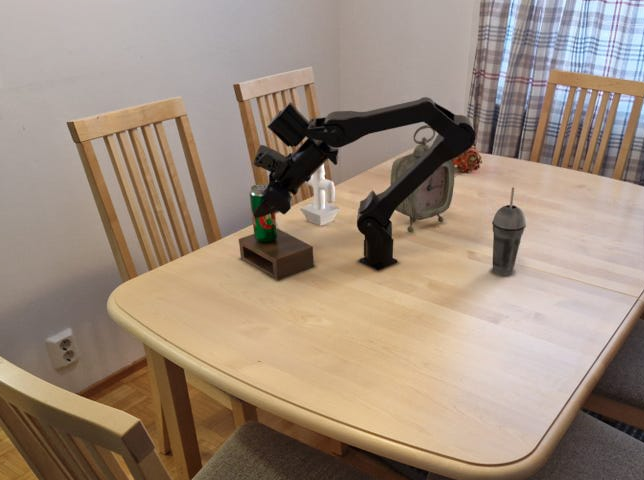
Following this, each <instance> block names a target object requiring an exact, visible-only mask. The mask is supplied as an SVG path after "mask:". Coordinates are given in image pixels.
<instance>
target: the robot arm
mask: <svg viewBox="0 0 644 480" xmlns="http://www.w3.org/2000/svg"><path fill="white" fill-rule="evenodd" d="M420 123H424V124H426V125H429V126H430V127H431V128H432V129H434V130H435V133H437V135H436V137H435V139H434V141H433V142H432V144H431V145H430V146H431V147H430V148H429V149H428V150H427V151H426V152H425V153H424V154H423V155H422V156H421V157H420V158H418V159H417V160H416V161H415V162H414V163H413V164H412V165H411V166H410V167H409V168H408V169H407V170H406V171H405V172H404V173H403V174H402V175H401V176H400V177H399V178H398V179H397V180H396V181H395V182H394V183H393V184H392V185H391V186H390V185H389V186H388V187H387V188H386V189H385V190H384V191H382V192H380V193H377V194H376V192H375V191H374V190H371V191H370V192H369V193H368V195H367V197H366V198H364V199H362V200H359V207H358V210H357V217H356V227H357V230H358V232H359V233H360V234H362V235H363V236H364V238H363V257H361V258H359V262H360V263H362V264H364V265H366V266H368V267H370V268H371V269H373V270H375V271H381V270H384V269H385V268H388V267H391V266H393V265H395V264H398V261H399V260H398V259H397V258H395V257H394V239H393V222H392V220H390V219H391V218H392V217H393V215H394V213H395V211H396V210H395V209H396V208H397V207H398V206H399V205H400V204H401V203H402V202H403V201H404V200H405V199H406V198H407V197H408V196H409V195H411V194H412V193H413V192H414V191H415V190H416V189H417V188H418V187H419V186H420V185H421V184H422V183H423V182H424V181H425V180H426V179H428V178H429V177H430V176H431V175H432V174H433V173H434V172H435V171H436V170H437V169H438V168H439V167H440V166H441V165H442V164H444V163H445V162H447V161H450V160H452V159H454V158H457V157H458V156H460V155H461V154H463V153H464V152H466V151H467V150H469V149H470V148H471V147H472V146H474V145H475V142H476V131H475V129H474V126H473V123H472V122H471V120H470V118H468V117H467V116H465V115H462V114H455V113H454V112H452V111H451V110H449V109H447V108H445V107H444V106H442V105H440V104H438V103H436V101H434V100H433V99H432V98H431V97H428V96H427V97H426V96H424V97H423V96H422V97H421V98H419V99H415V100H411V101H407V102H402V103H399V104H394V105H390V106H385V107H381V108H376V109H372V110H367V111H355V110H337V111H332V112H330V113H328V114H327V115H326V116H324V117H323V116H322V117H317V118H310V119H309V120H308V118H306V117H305V116H304V115H303V114H302V113H301V111H299V110H298V108H297V107H296V106H295V105H294V103H292V102H289V103H288V104H287V105H286V106H285V107H283V108H282V109H281V110H279V111H278V112H277V113H276V114H275V115H274V117H273V118H272V119H271V120H270V122H269V123H268V124H267V125H266V127H267V128H268V129H269V131H271V133H273V134H274V135H275V136H276V138H278V139H279V140H280V141H281V142H282V143H283V144H284V145H285V146H286V147H287V148H289V147H290V148H293V147H294V148H296V150H295V151H294V152H289V153H288V154H287V155H284V154H282V153H281V152H279V151H277V150H275V149H273V148H271V147H268V146H266V145H264V144H260V145H259V148H258V149H257V151H256V155H255V157H254V159H253V163H252V164H253V165H254V166H255V167H257V168H261V169H264V170H266V171H268V172H269V174H268V183H267V184H266V186H264V188H263V190H262V193H261V194H262V196H263V197H264V198H263V200H262V201H261V203H260V204H259V206H258V207H257V209H256V211H255V212H254V214H253V215H254V216H255V217H256V218H259V217H262V216H265V215H268V214H271V213H274V212H275V213H277V212H279V213H281V215H286V214H287V213H288V212H289V211H290V210H291V209H292V205H293V196H296V195H297V194H298V192H299V189H300V188H301V187H302V186H303V185H304V184H306V183H305V182H308V181H309V180H310V179H311V176H312V175H313V174H314V173H315V172H316V171H317V170H318V169H319V168H320V167H321V166H322V165H323V164H324V165H325V163H326V162H327V161H328V160H329V161H330V162H331V163H332V164H333V165H334V166H337V165H338V163H339V152H340V148H343V147H345V146H347V145H351V144H353V143H354V142H356V141H358V140H360V139H361V138H363V137H365V136H367V135H370V134H375V133H379V132H384V131H388V130H393V129H397V128H401V127H407V126H410V125H415V124H420ZM431 128H430V129H431ZM432 129H431V130H432ZM305 138H306V140H305V141H304V139H305ZM303 141H304V142H303ZM302 142H303V143H302ZM301 143H302V144H301ZM300 144H301V145H300ZM299 145H300V146H299ZM298 146H299V147H298ZM291 194H292V195H293V196H292V195H291Z"/></svg>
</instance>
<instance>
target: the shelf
mask: <svg viewBox="0 0 644 480" xmlns="http://www.w3.org/2000/svg"><path fill="white" fill-rule="evenodd" d="M238 244H239V245H238V246H239V252H240V254H239V255H240V260H242V261H244V262H245V263H247V264H248V265H250V266H253V267H254V268H255V269H257V270H259V271H261V272H262V273H264V274H266V275H267V276H269V277H270V278H272V279H274V280H276V281H281V280H282V279H285V278H289V277H291V276H294V275H296V274H299V273H301V272H304V271H306V270H309V269H311V268H314V267H315V263H314V246H313V245H311V244H309V243H307V242H305V241H303V240H301V239H299V238H297V237H296V236H293V235H291V234H289V233H287V232H285V231H283V230H282V229H280V228H278V227H277V238H276V240H275V241H273V242H271V243H260V242H258V241H257V240H256V239H255V238H254V233H252V234H249V235H247V236H243V237H240V238H238Z"/></svg>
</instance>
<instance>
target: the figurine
mask: <svg viewBox="0 0 644 480" xmlns="http://www.w3.org/2000/svg"><path fill="white" fill-rule="evenodd" d="M325 175H326V170H325V163H324V164H323V165H322V166H321V167H320V168H319V169H318V170H317V171H316V172H315V173H314V174H313V175H312V176H311V179H310V180H309V181H308V182H305V183H304V184H305V185H306V186H307V185H308V186H309V187H312V188H313V202H312V203H309V204H306V205H304V206H301V207H299V210H300V211H301V213H302V215H304V218H306V220H307V222H308V223H311V224H314V225H317V226H319V227H322V226H324V225H327V224H329V223H331V222H333V221H334V219H335V217H336V215H337V214H338V212H339V211H340V208H341V207H339V206H338V205H337V206H336V205H333V204H332V203H334V202H335V201H336V194H335V183H334V182H333V181H332V180H330V179H327V178H325Z"/></svg>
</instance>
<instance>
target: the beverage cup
mask: <svg viewBox="0 0 644 480" xmlns="http://www.w3.org/2000/svg"><path fill="white" fill-rule="evenodd" d="M514 194H515V187H511V193H510V202H509V204H506V205H503V206H502V207H500V208H499V209H498V210H497V211H496V212H495V214H494V216H493V219H492V222H491V223H492V233H493V234H492V237H493V238H492V264H491V265H492V273H493V274H495V275H497V276H500V277H508V276H511V275H513V271H514V268H515V266H516V265H515V264H516V261H517V256H518V252H519V249H520V244H521V240H522V236H523V235H524V232H525V228H526V225H527V224H526V216H525V213H524V211H523V210H522V209H521V208H520V207H518V206H517V205H515V204H513V203H514Z"/></svg>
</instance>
